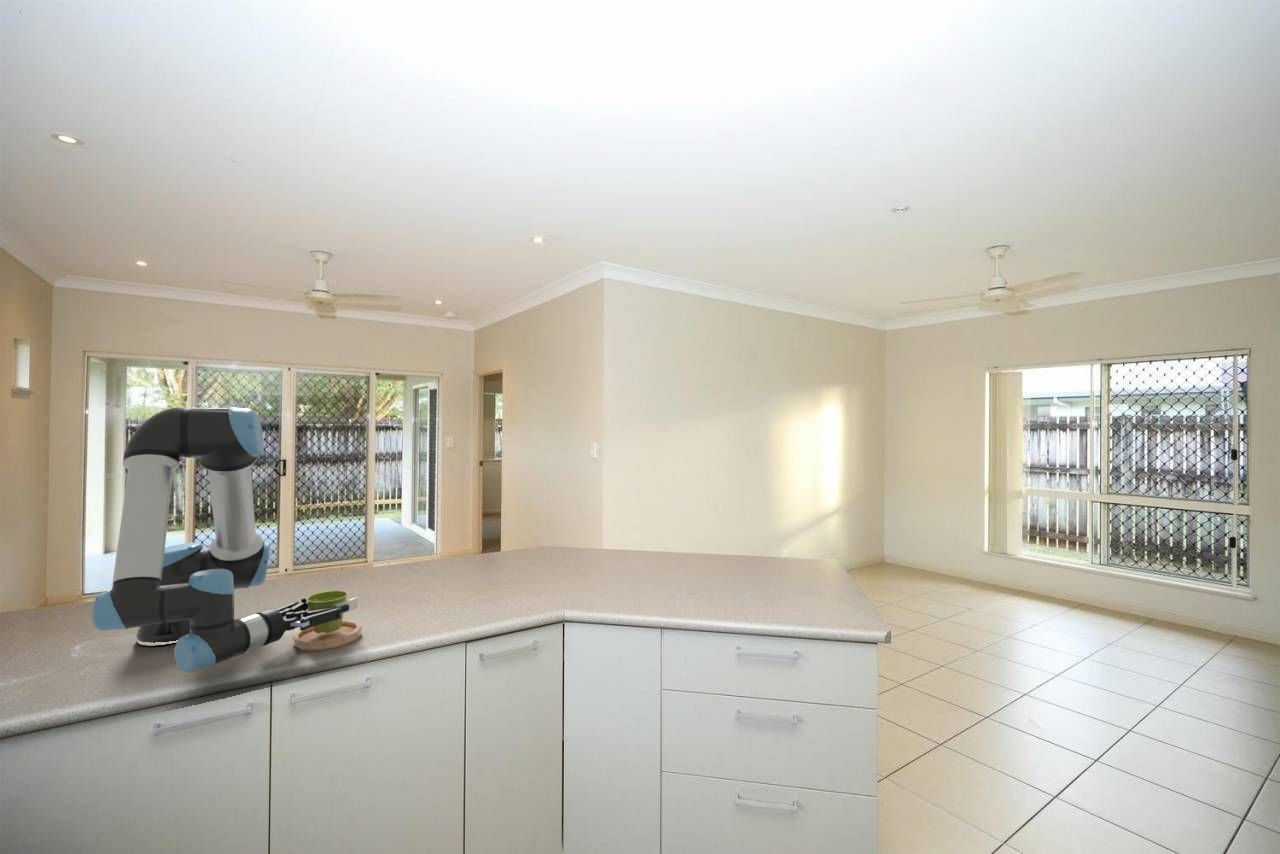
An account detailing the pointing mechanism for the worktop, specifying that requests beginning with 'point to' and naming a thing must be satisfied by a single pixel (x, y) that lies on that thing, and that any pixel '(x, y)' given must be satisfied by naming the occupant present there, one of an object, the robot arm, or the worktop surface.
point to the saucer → (327, 637)
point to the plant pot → (327, 601)
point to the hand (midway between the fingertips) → (343, 600)
